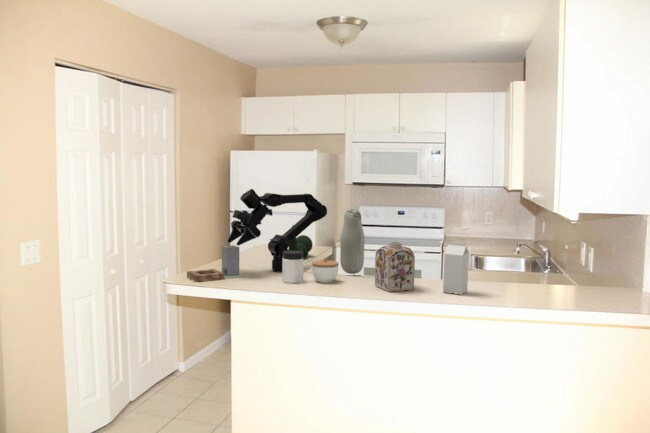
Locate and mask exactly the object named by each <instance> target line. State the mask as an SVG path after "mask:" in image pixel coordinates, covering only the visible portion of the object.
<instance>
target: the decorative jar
mask: <svg viewBox="0 0 650 433" xmlns="http://www.w3.org/2000/svg"><path fill="white" fill-rule="evenodd" d="M415 257H416V256H415V253H414V251H413V250H412V248H411V247H408V246H403V245H402V242H400V241H389V244H388V245H384V246H381V247H379V248H378V249H377V251H375V259H374V261H375V262H374V286H375V287H377V288H379V289H381V290H382V291H383V290H384V291H385V292H387V293H393V292H394V291H395V292H405V291H404V290H409V291H414V289H415V273H416V272H415V270H416V269H415V262H416V261H415V259H416V258H415Z"/></svg>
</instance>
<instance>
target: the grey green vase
mask: <svg viewBox="0 0 650 433" xmlns="http://www.w3.org/2000/svg"><path fill="white" fill-rule="evenodd" d="M339 238H340V240H339V241H340V242H339V243H340V244H339V246H340V249H339V250H340V254H339V255H340V258H339V259H340V266H341V269H342V270H343V271H344V272H345V273H347V274H351V275H355V274H359V272H362V269H363V267H364V263H365V240H366V239H365V232H364V228H363V223H362V214H361V212H360V210H358V209H351V208H349V209H347V210H346V211H345V212H344V216H343V225H342V229H341V232H340V237H339Z"/></svg>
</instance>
